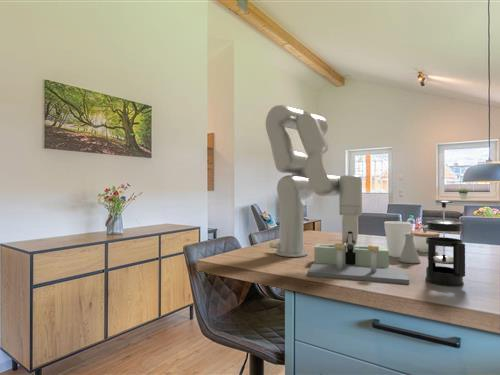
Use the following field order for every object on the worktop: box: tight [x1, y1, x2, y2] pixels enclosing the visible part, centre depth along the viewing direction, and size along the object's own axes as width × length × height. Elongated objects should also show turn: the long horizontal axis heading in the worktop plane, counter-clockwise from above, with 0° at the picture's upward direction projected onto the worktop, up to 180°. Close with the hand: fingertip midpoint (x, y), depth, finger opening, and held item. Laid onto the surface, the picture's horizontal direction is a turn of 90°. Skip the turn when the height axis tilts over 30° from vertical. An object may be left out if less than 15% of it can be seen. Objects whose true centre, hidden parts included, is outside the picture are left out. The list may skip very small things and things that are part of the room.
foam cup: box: [383, 220, 412, 258], centre depth 129 cm, size 10×9×13 cm
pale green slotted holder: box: [313, 243, 390, 268], centre depth 115 cm, size 24×7×6 cm, turn 72°
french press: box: [425, 200, 466, 287], centre depth 93 cm, size 12×9×23 cm
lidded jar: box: [410, 228, 441, 253], centre depth 139 cm, size 11×11×9 cm
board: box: [307, 242, 410, 285], centre depth 102 cm, size 28×13×9 cm, turn 72°
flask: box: [398, 233, 421, 264], centre depth 119 cm, size 7×7×10 cm
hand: (350, 261), depth 115 cm, fingers closed on pale green slotted holder, 7 cm apart
